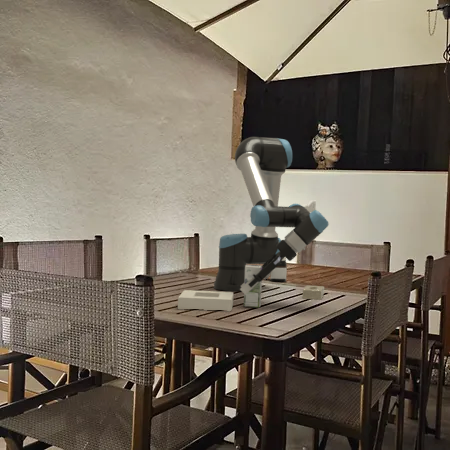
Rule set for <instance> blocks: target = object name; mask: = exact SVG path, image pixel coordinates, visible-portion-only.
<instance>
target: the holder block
mask: <svg viewBox="0 0 450 450" xmlns="http://www.w3.org/2000/svg"><path fill="white" fill-rule="evenodd" d="M234 292H235V291H215V290H211V291H209V290H191V289H189V290H187V289H184V290H183V291H182V292H181V294H180V295H179V296H178V298H177V310H184V309H204V310H203V311H207V310H227V311H226V312H230V311H231V310H232V309H233V306H234ZM231 312H232V311H231Z"/></svg>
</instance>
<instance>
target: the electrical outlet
mask: <svg viewBox="0 0 450 450" xmlns="http://www.w3.org/2000/svg"><path fill="white" fill-rule="evenodd" d="M324 293H325V286H323V285H321V286H320V285H319V286H318V285H305V286H304V288H303V290H302V299H306V300H316V301H317V300H318V301H322V298H323V296H324Z"/></svg>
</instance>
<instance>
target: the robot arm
mask: <svg viewBox="0 0 450 450" xmlns="http://www.w3.org/2000/svg"><path fill="white" fill-rule="evenodd" d="M234 162H235V166H236V168H237V169H238V170H239V171H240V172H241V175H242V177H243V181H244V183H245V186H246V189H247V192H248V195H249V197H250V201H251V203H252V208H251V209H250V214H249V216H250V222H251V224H252V225H253V226H254V227H255V228H254V229H253V230H251V233H250V234H251V235H250V236H248V235H247V233H232V234H225V235H221V237H220V238H219V245H218V249H219V250H218V270H217V274H216V276H215V280H214V282H213V289H215V290H218V291H224V292H242V293H243V295H244V294H245V295H246V294H247V293H248V292H249V291H250V290H251V289H252V288H253V287H254V286H256V285H257V284H258V283H259V282H261V281H262V282H263V280H265V279H264V278H265V277H266V276H267V275H268V274H269V273H270V272H271V271H272V270H274V269H275V268H276V267H277V266H278V265H280V264H281V263H282V259H283V258H284V257H286V260H288V261H289V262H291V261H292V260H294V258H296V257H297V255H298V253H301V252H302V251H305V250H306V247H307V246H308V245H310V244H311V243H312V242H313V241H314V240H315V239H316V238H317V237H318V236H320V235H321V234H322V233H324V231H325V230H326V229H327V228H328V227H329V225H330V223H329V221H328V220H327V218H326V217H325V216H324V215H323V214H322V213H321V212H320V211H319V210H317V209H314V210H313V211H311V212H310V211H309V210H308V209H307V208H306V207H305V206H303V205H301V204H300V203H293V204H290V205H289V206H282V205H281V206H279V198H280V189H281V182H282V181H281V179H282V175H283V174H286V169H287V168H289V167H290V166H292V162H293V150H292V146H291V144H290V142H289V141H288V140H287V139H283V138H278V137H261V136H260V137H259V136H250V137H248V138H247V137H246V138H245V139H243V140H242V141H241V142H240V143H239V145H237V148H236V149H235V153H234ZM276 228H293V229H292V230H291V231H289V232H288V233H287V234H286V235H285V236H284V239H281V238H280V237H279V233H278V232H277V231H276ZM246 265H262V270H261V271H260V272H259V273H258V274H257V275H255V274H253V276H254V277H252V278H251V279H250V280H249V281H248V282H247V283H246V284H245V285H244V282H245V266H246Z"/></svg>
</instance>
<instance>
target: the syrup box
mask: <svg viewBox="0 0 450 450" xmlns="http://www.w3.org/2000/svg"><path fill="white" fill-rule="evenodd" d="M262 265H263V264H246V266H245V282H244V285H245V284H246V283H247V282H248V281H249V280H250V279H251V278H252V277H254V276H253V274H255V275H257V274H258V273H259V272H260V271H261V270H262ZM262 283H263V280H262V281H261V282H259V283H258V284H257V285H256V286H254V287H253V288H252V289H251V290H250V291H249V292H248V293H247V294H246V295H245V294H244V293H243V307H247V308H257V309H258V308H260V307H261V305H262V287H263V286H262V285H263V284H262Z"/></svg>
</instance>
